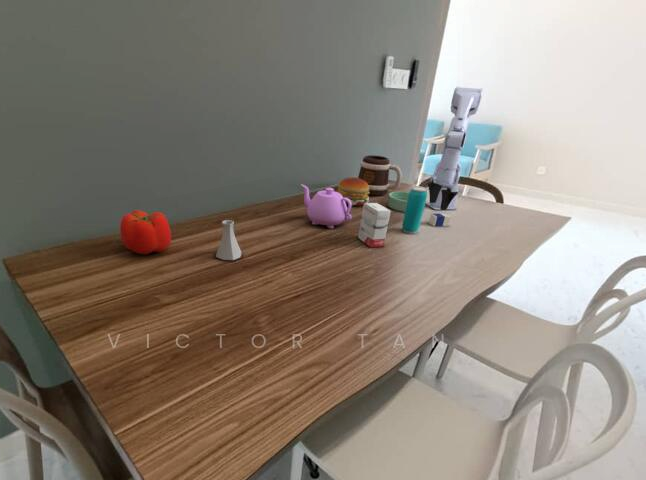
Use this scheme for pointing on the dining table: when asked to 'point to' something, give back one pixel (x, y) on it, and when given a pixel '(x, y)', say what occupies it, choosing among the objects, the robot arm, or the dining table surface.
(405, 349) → the dining table surface
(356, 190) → the burger
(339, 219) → the teapot
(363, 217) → the ink box
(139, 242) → the red bell pepper
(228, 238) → the flask
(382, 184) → the mug
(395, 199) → the bowl
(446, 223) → the eraser
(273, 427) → the dining table surface
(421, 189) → the beverage can
